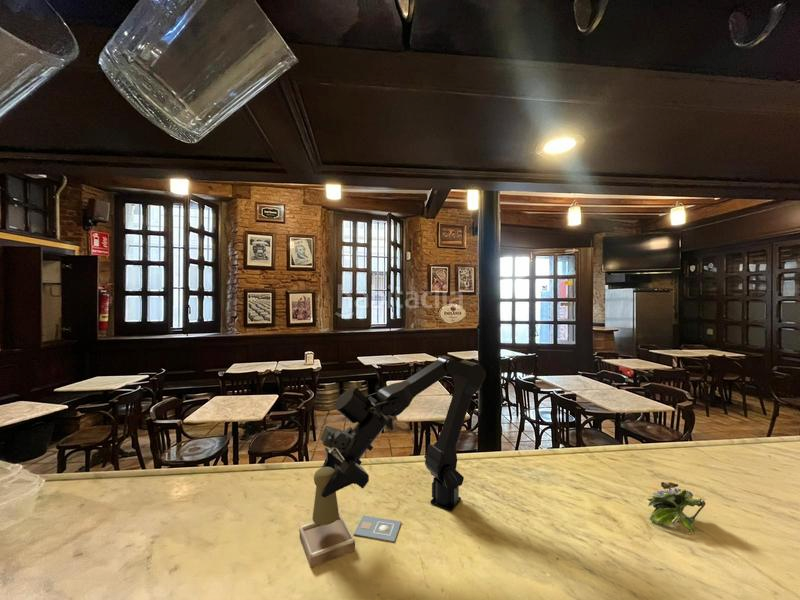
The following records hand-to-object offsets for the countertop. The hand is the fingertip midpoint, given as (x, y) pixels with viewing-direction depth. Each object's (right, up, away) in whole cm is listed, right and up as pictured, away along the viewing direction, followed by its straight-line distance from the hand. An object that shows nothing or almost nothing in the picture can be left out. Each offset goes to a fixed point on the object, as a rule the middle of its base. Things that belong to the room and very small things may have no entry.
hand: (319, 490), depth 80 cm
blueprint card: (+13, -12, +5) cm, 19 cm away
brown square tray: (+2, -12, 0) cm, 12 cm away
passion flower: (+88, -13, +7) cm, 89 cm away
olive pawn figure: (+1, -7, +1) cm, 7 cm away
